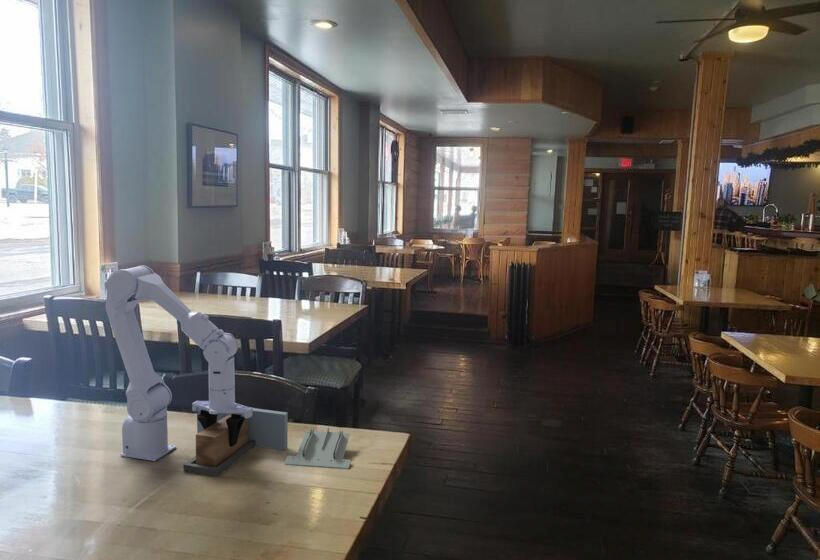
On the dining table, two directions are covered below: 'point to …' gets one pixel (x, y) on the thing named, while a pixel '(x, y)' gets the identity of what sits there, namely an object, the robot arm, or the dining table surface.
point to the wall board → (249, 438)
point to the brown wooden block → (218, 443)
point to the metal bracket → (322, 450)
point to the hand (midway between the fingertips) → (222, 443)
